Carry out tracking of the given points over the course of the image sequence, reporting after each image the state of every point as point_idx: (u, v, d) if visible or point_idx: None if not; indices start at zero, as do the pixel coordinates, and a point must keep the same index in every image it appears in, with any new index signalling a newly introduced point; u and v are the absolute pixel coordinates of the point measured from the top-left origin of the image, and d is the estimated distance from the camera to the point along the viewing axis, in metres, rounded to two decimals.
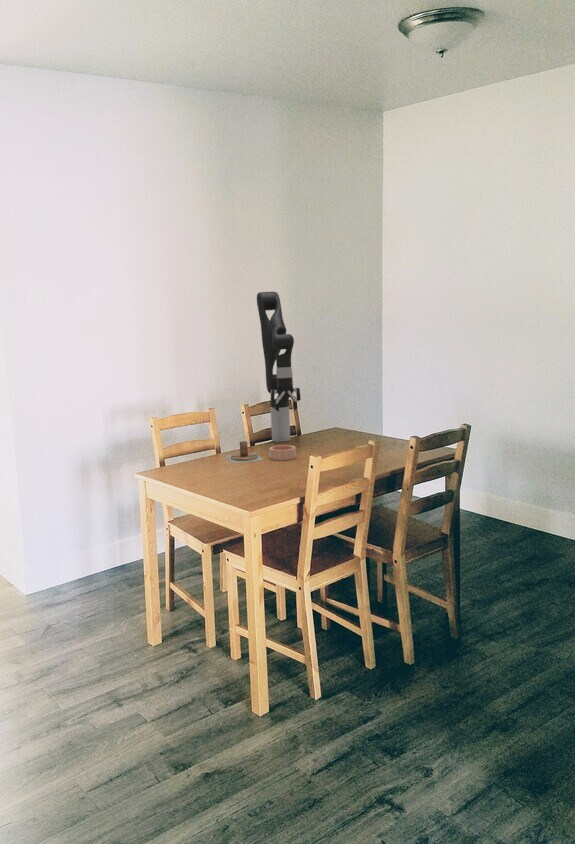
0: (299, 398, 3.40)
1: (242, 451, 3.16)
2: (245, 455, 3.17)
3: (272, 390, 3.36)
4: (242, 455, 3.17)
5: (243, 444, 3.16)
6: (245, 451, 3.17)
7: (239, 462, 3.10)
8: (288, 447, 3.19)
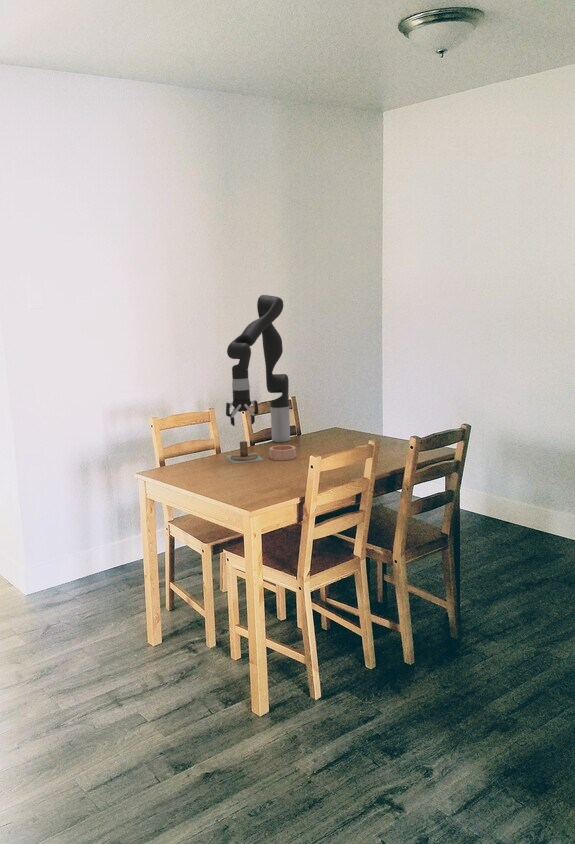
0: (257, 412, 3.15)
1: (242, 451, 3.16)
2: (245, 455, 3.17)
3: (227, 403, 3.11)
4: (242, 455, 3.17)
5: (243, 444, 3.16)
6: (245, 451, 3.17)
7: (239, 462, 3.10)
8: (288, 447, 3.19)
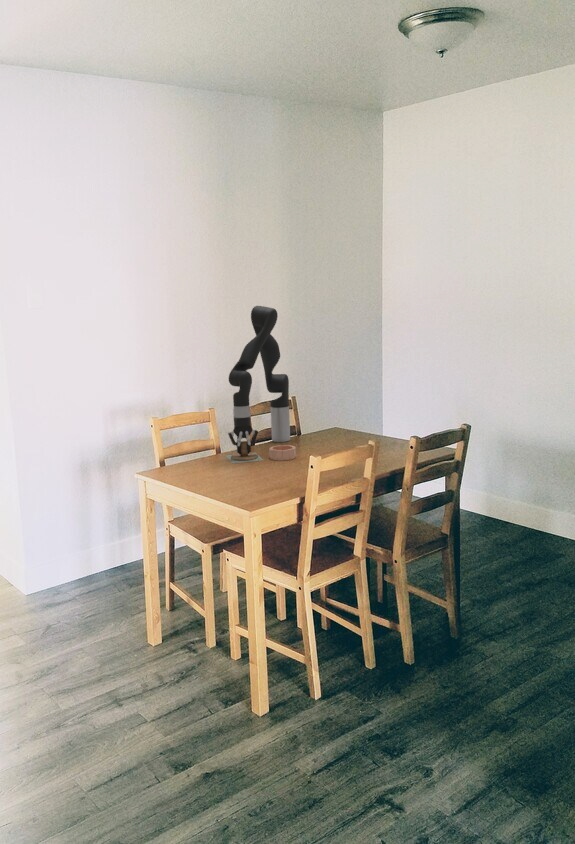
0: (253, 441, 3.17)
1: (242, 451, 3.16)
2: (245, 455, 3.17)
3: (229, 434, 3.14)
4: (242, 455, 3.17)
5: (243, 444, 3.16)
6: (245, 451, 3.17)
7: (239, 462, 3.10)
8: (288, 447, 3.19)
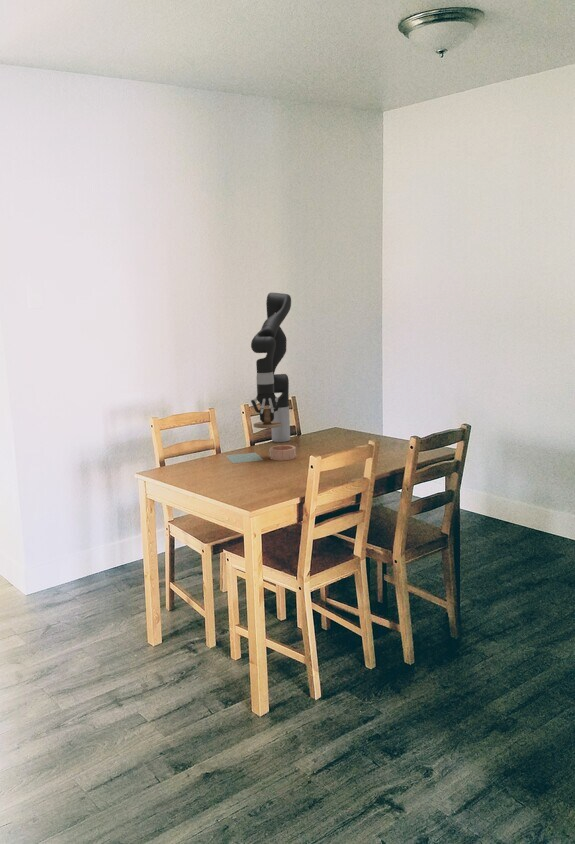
0: (276, 409, 3.13)
1: (265, 419, 3.12)
2: (268, 423, 3.13)
3: (252, 401, 3.10)
4: (265, 423, 3.13)
5: (266, 411, 3.12)
6: (268, 419, 3.12)
7: (239, 462, 3.10)
8: (288, 447, 3.19)
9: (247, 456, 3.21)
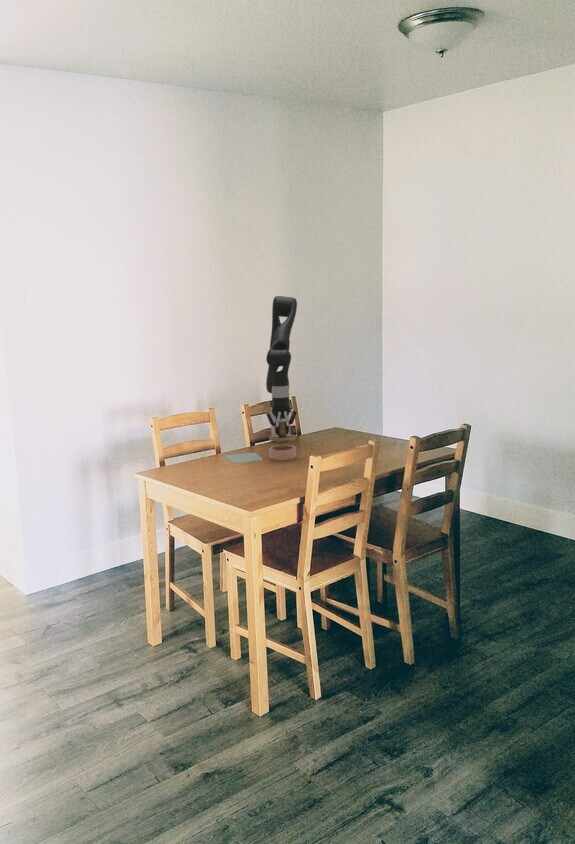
0: (291, 422, 3.13)
1: (280, 432, 3.12)
2: (283, 436, 3.13)
3: (267, 414, 3.10)
4: (280, 436, 3.13)
5: (282, 425, 3.12)
6: (283, 432, 3.12)
7: (239, 462, 3.10)
8: (288, 447, 3.19)
9: (247, 456, 3.21)
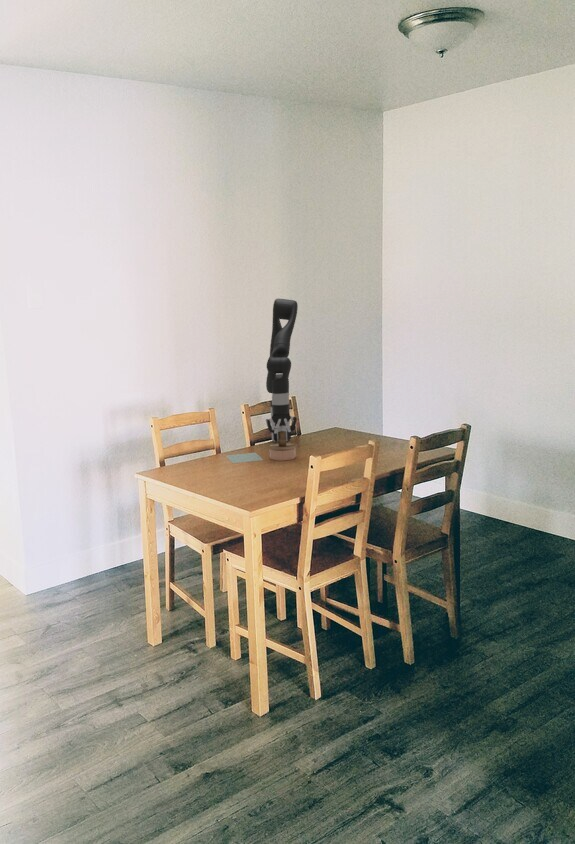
0: (293, 428, 3.14)
1: (281, 441, 3.13)
2: (284, 445, 3.13)
3: (267, 420, 3.10)
4: (280, 445, 3.13)
5: (282, 434, 3.12)
6: (284, 441, 3.13)
7: (239, 462, 3.10)
8: None
9: (247, 456, 3.21)
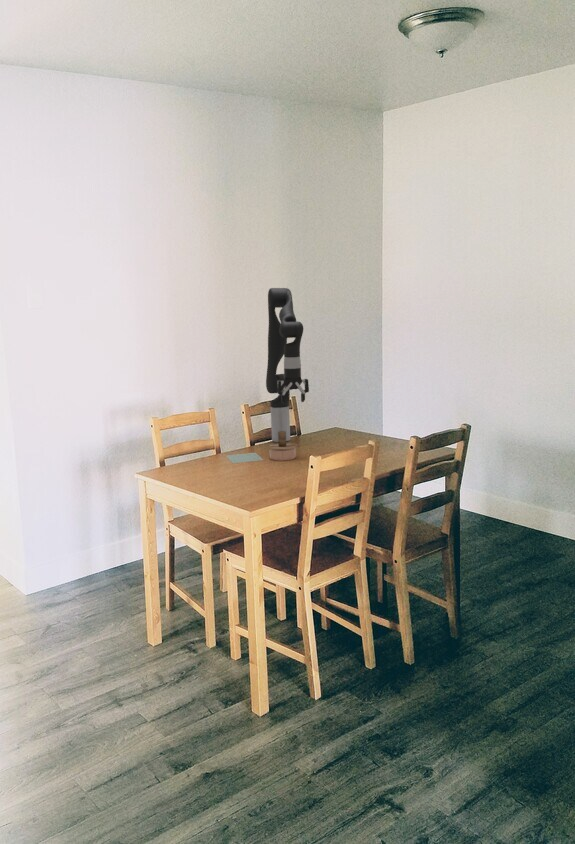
0: (307, 390, 3.20)
1: (281, 441, 3.13)
2: (284, 445, 3.13)
3: (279, 381, 3.16)
4: (280, 445, 3.13)
5: (282, 434, 3.12)
6: (284, 441, 3.13)
7: (239, 462, 3.10)
8: None
9: (247, 456, 3.21)
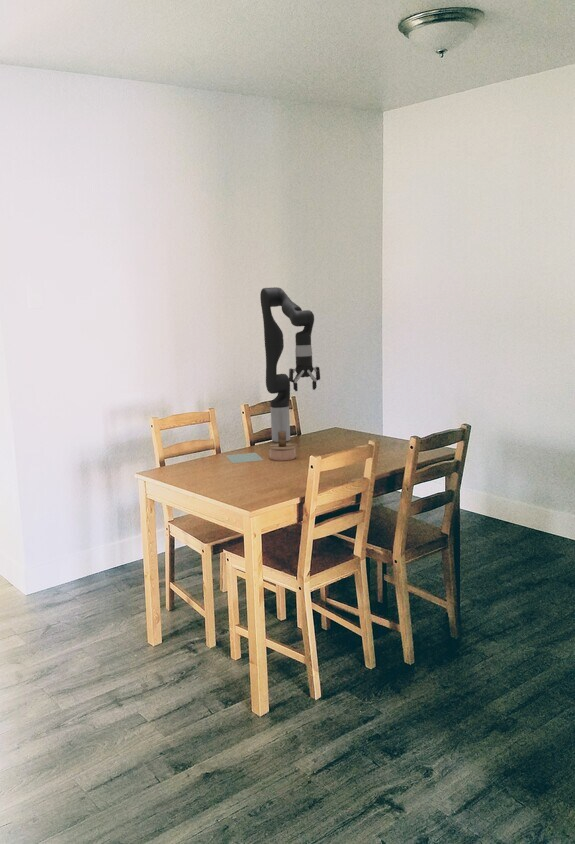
0: (319, 377, 3.26)
1: (281, 441, 3.13)
2: (284, 445, 3.13)
3: (291, 369, 3.22)
4: (280, 445, 3.13)
5: (282, 434, 3.12)
6: (284, 441, 3.13)
7: (239, 462, 3.10)
8: None
9: (247, 456, 3.21)
